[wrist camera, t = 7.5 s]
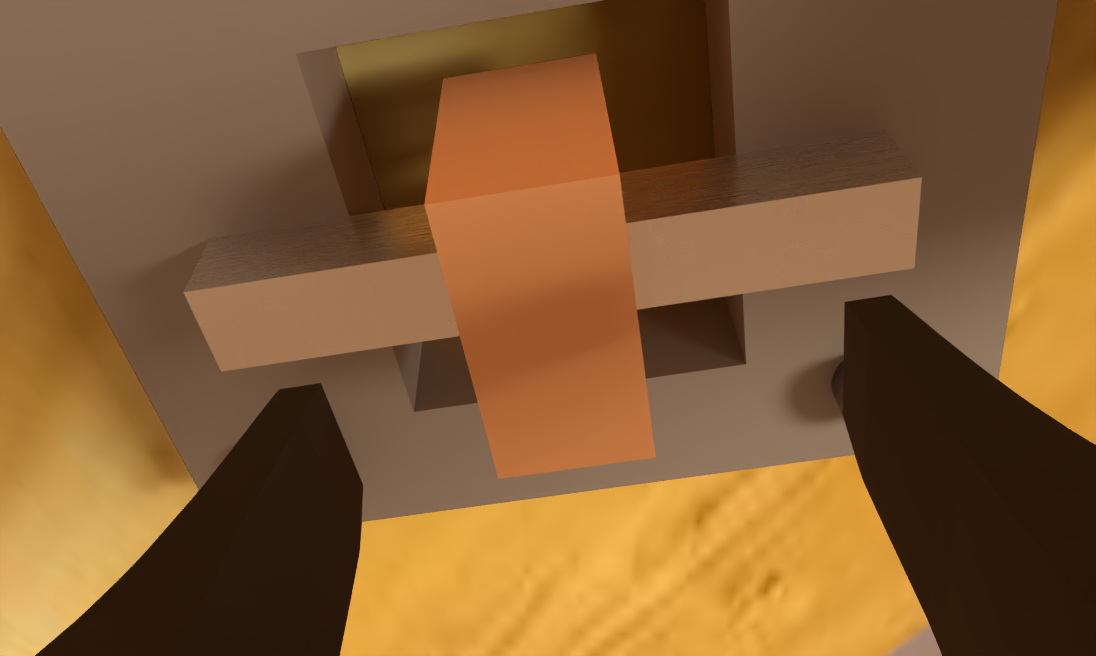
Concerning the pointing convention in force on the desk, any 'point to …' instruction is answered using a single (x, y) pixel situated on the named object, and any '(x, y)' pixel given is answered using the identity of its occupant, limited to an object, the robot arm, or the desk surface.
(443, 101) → the orange rectangular block
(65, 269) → the desk surface
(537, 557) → the desk surface
